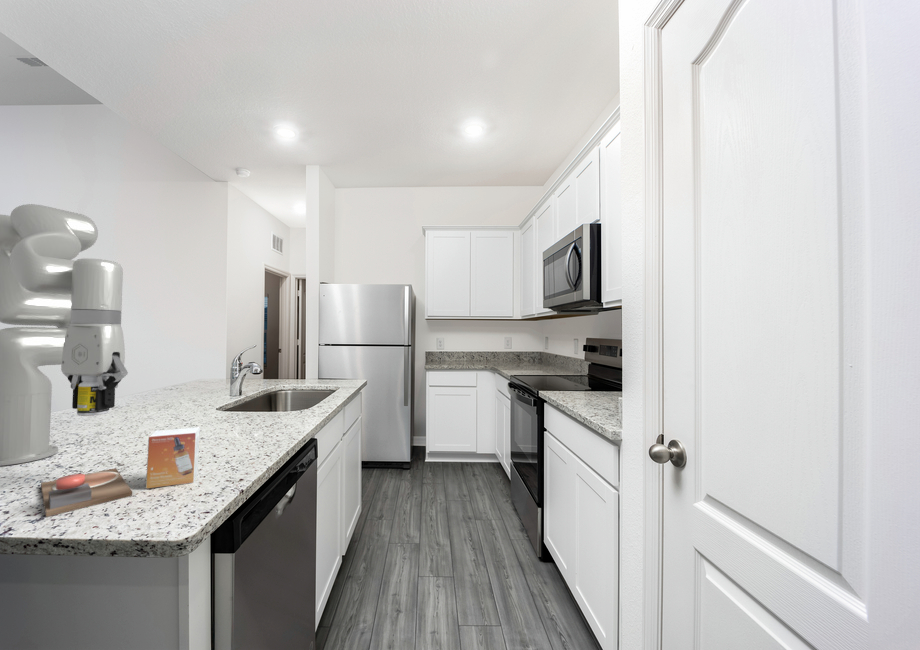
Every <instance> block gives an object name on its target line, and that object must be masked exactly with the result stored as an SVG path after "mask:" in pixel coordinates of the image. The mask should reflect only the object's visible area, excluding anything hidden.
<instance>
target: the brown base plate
mask: <svg viewBox="0 0 920 650" xmlns="http://www.w3.org/2000/svg"><path fill="white" fill-rule="evenodd" d="M84 474H85V483H84V484H83V485H81V486H78V487H74V488H70V489H63V490H58V489H56V480H57V479H55V480H50V481H45V482H41V484H40V488H41V493H42V501H43V508H44V512H45V517H46V518H47V517H52V516H55V515H60V514H65V513H68V512H72V511H75V510H79V509H83V508H84V509H85V508H88V507H93V506H96V505H100V504H104V503H108V502H113V501H117V500H121V499H125V498H128V497H132V496H133V490H132V489H131V488H130V486H129V485H128V483H127V482H126V480H125V479H124V478H123V476H122V475H121V473H120V472H119V471H118V469H117V468H116V467H115V468H109V469H105V470H99V471H94V472H90V473H89V472H88V473H84Z"/></svg>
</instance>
